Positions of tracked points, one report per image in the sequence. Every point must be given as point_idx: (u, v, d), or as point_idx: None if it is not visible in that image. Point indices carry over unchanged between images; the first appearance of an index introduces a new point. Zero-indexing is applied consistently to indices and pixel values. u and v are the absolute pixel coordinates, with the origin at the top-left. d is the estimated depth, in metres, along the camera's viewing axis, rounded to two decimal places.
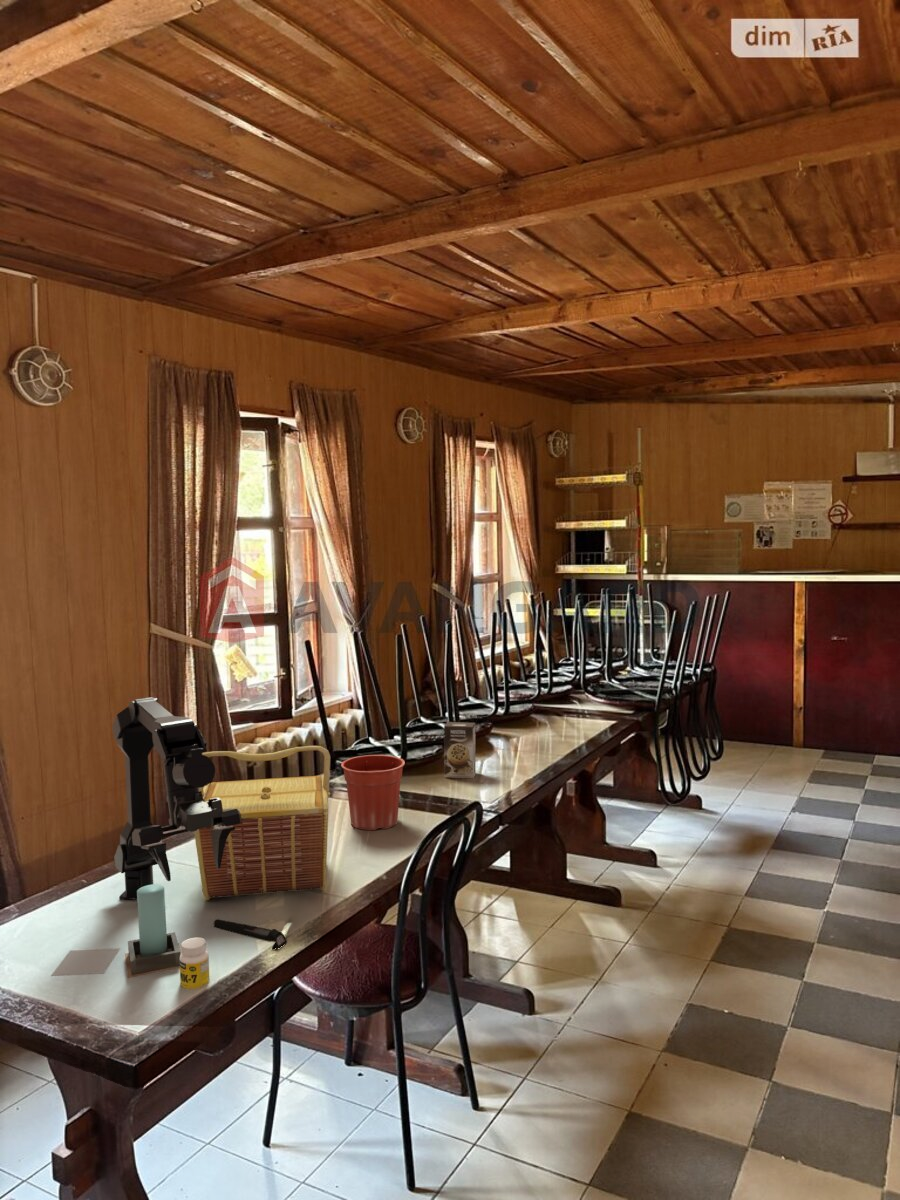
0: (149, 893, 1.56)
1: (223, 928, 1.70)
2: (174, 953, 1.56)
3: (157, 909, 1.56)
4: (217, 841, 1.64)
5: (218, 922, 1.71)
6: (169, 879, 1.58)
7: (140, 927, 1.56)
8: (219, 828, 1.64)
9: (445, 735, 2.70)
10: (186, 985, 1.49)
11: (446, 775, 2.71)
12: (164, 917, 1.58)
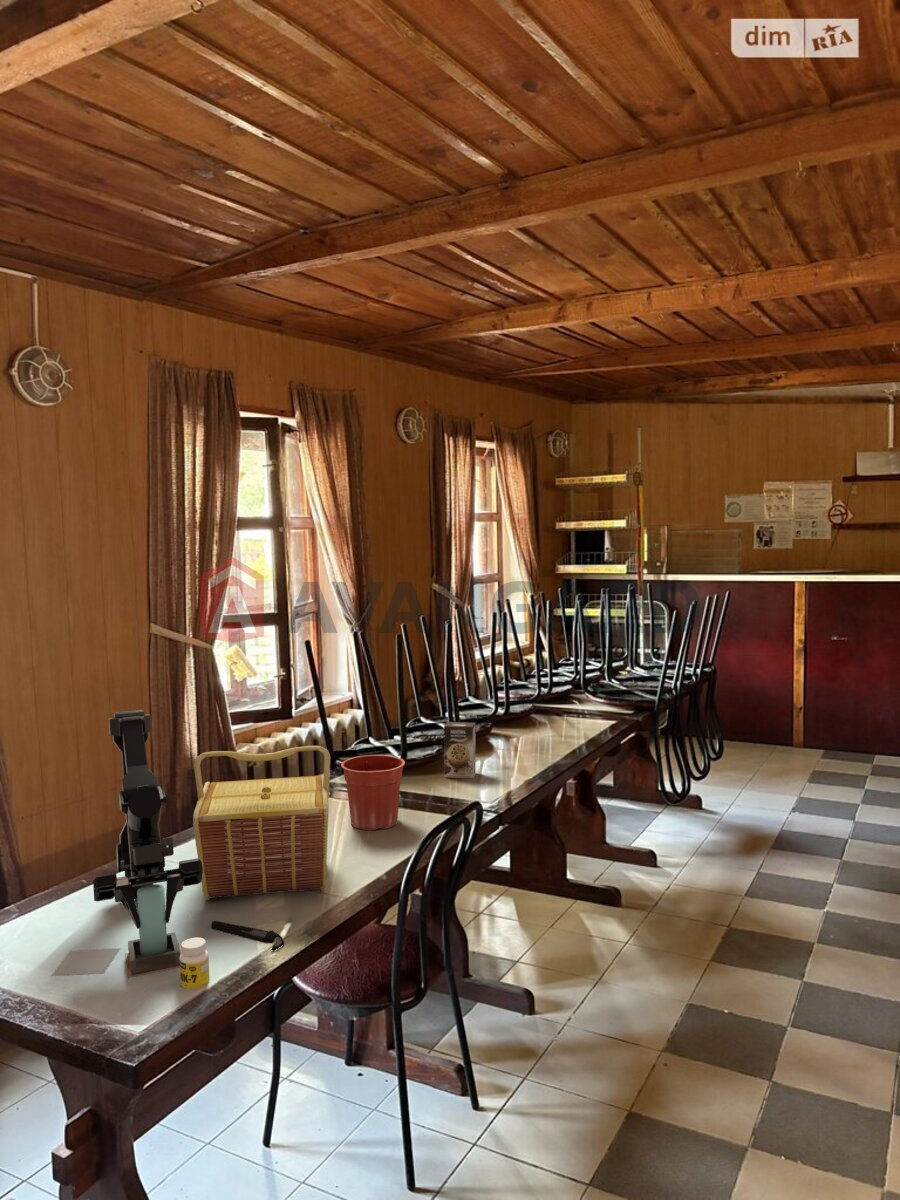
0: (149, 893, 1.55)
1: (220, 930, 1.69)
2: (174, 953, 1.56)
3: (158, 909, 1.56)
4: (166, 893, 1.60)
5: (215, 924, 1.70)
6: (137, 924, 1.55)
7: (140, 927, 1.56)
8: None
9: (445, 735, 2.70)
10: (186, 985, 1.49)
11: (446, 775, 2.71)
12: (164, 917, 1.57)
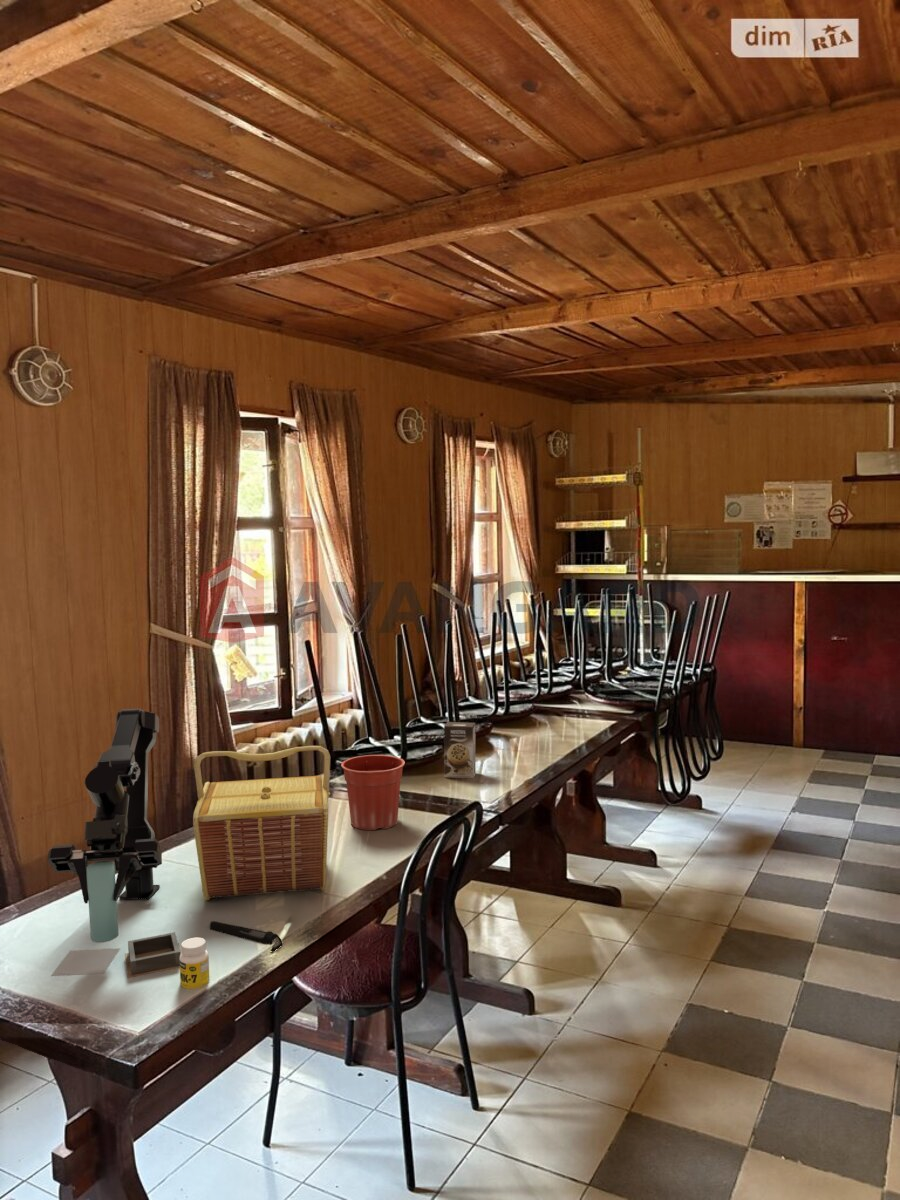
0: (96, 870, 1.54)
1: (219, 930, 1.69)
2: (174, 953, 1.56)
3: (104, 887, 1.55)
4: None
5: (214, 924, 1.70)
6: (84, 899, 1.55)
7: None
8: None
9: (445, 735, 2.70)
10: (186, 985, 1.49)
11: (446, 775, 2.71)
12: (112, 895, 1.56)
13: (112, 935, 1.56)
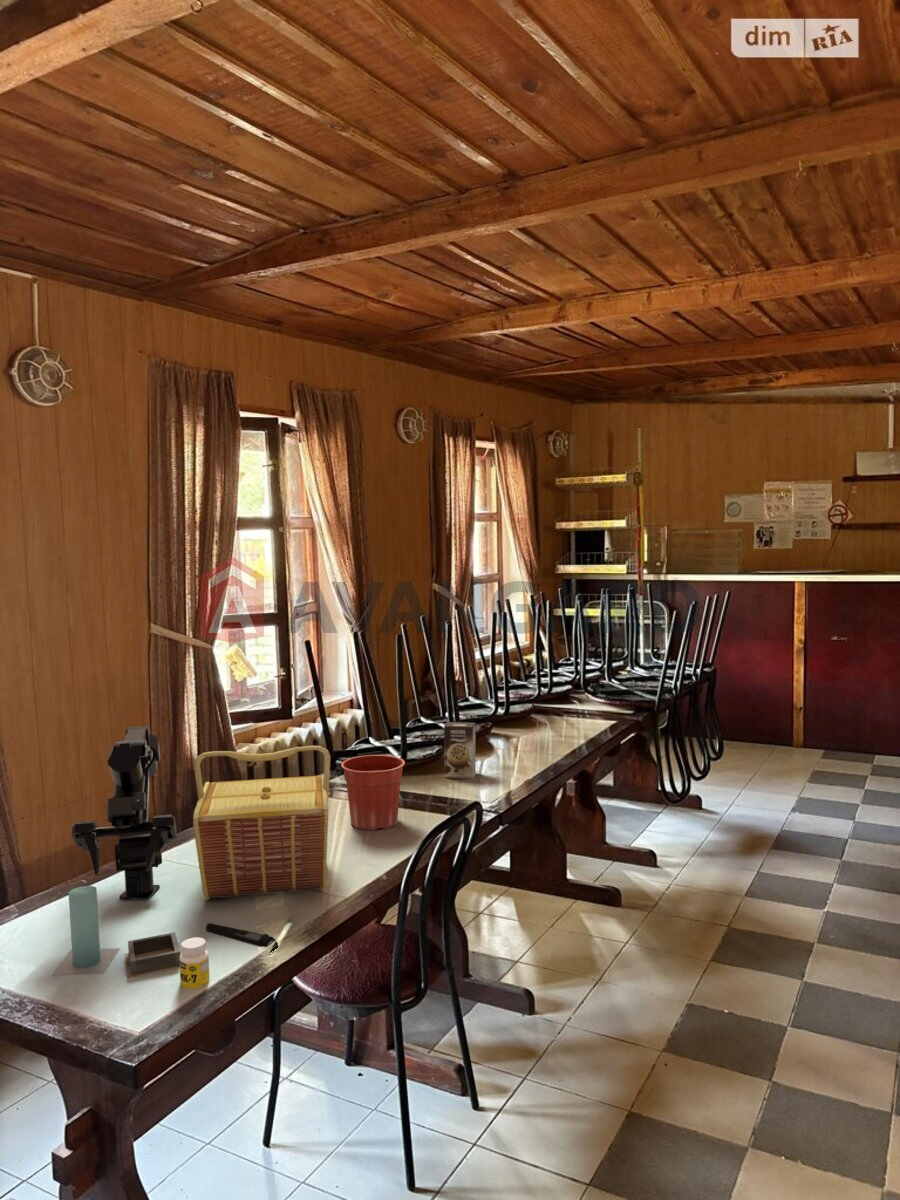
0: (77, 895, 1.55)
1: (215, 932, 1.68)
2: (174, 953, 1.56)
3: (84, 912, 1.55)
4: None
5: (210, 926, 1.69)
6: (95, 871, 1.66)
7: None
8: None
9: (445, 735, 2.70)
10: (186, 985, 1.49)
11: (446, 775, 2.71)
12: (93, 921, 1.57)
13: (93, 961, 1.57)
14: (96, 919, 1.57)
